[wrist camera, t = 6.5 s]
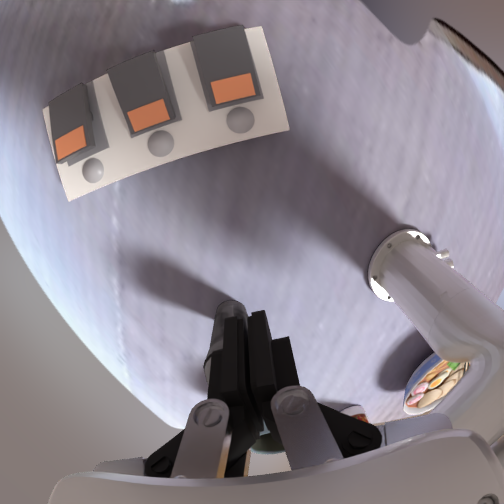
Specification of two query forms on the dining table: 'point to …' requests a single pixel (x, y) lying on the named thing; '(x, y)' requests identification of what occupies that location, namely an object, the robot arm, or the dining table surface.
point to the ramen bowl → (431, 383)
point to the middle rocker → (141, 92)
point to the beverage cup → (222, 328)
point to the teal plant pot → (267, 444)
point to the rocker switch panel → (177, 130)
